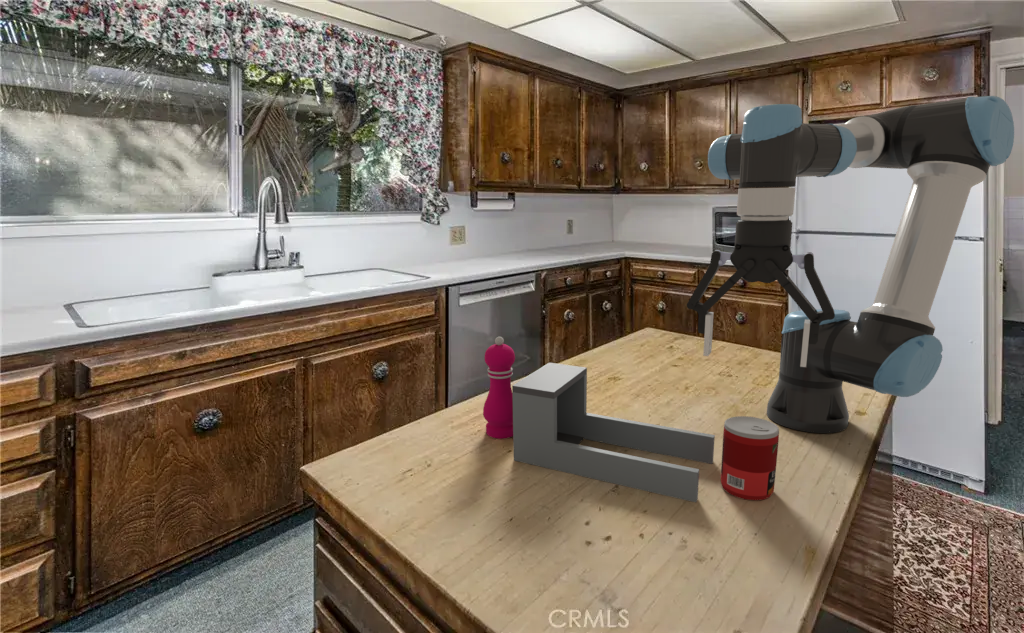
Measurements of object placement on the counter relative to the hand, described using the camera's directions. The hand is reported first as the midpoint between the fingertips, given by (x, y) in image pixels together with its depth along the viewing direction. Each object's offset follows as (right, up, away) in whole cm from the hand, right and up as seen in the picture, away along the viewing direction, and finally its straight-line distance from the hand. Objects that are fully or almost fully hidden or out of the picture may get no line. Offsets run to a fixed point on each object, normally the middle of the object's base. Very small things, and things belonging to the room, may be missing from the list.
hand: (753, 359), depth 87 cm
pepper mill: (-39, -17, +28) cm, 51 cm away
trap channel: (-18, -19, +14) cm, 30 cm away
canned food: (+1, -21, +5) cm, 22 cm away
